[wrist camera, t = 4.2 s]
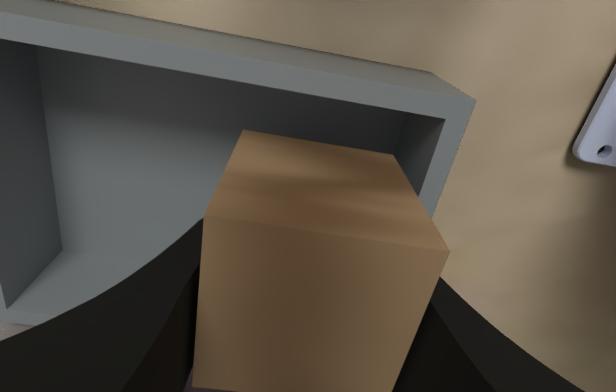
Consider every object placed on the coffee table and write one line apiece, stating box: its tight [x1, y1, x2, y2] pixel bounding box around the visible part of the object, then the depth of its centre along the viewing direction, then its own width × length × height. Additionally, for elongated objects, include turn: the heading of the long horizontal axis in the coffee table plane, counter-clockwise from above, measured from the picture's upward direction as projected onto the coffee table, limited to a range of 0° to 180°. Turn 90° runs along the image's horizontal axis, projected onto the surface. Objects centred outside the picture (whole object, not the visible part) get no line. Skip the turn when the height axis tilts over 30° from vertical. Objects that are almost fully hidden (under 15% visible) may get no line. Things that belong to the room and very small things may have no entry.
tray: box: [0, 0, 476, 326], centre depth 13 cm, size 14×10×4 cm
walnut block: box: [192, 130, 450, 392], centre depth 10 cm, size 4×4×5 cm
